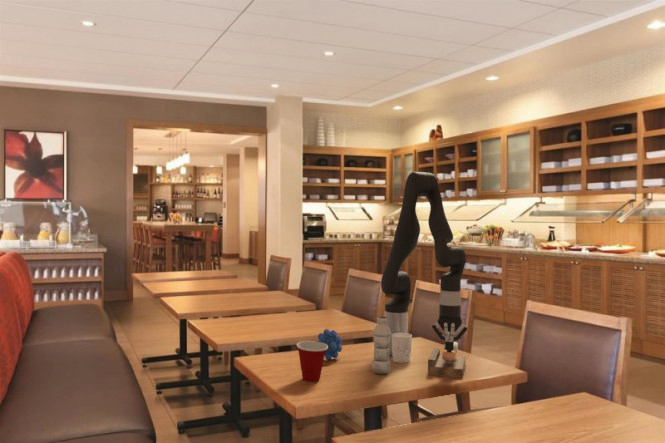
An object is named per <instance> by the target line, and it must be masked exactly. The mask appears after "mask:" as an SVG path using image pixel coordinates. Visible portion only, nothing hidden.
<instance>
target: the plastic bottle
mask: <svg viewBox="0 0 665 443" xmlns="http://www.w3.org/2000/svg"><path fill="white" fill-rule="evenodd" d="M376 323H377V324H376V325H375V327H374V329H373V330H372V335H373V347H374V350H373V359H372V364H371V366H372V371H373V372H374V373H375V374H377V375H378V374H379V375H384V374H385V375H386V374H389V372H390V371H391V359H390V355H389V342H390V335H391V331H390V329H389V327H388V325H387V317H385V315H384V316H380V315H379V316H377V317H376Z"/></svg>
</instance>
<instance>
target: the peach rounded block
mask: <svg viewBox="0 0 665 443" xmlns="http://www.w3.org/2000/svg"><path fill="white" fill-rule="evenodd" d="M441 355H442V359H444V360H446V364H447V365H451V364H452V360H455V359H456V356H457V353H456V352H455V351H452V352H447V350H444V349H443V350H442V353H441Z"/></svg>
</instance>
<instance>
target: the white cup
mask: <svg viewBox="0 0 665 443" xmlns="http://www.w3.org/2000/svg"><path fill="white" fill-rule="evenodd" d="M412 339H413V335H412V333H408V332H407V333H393V334H392V353H393V356H392V361H393V362H395V363H400V364H401V363H402V364H403V363H410V362H411V354H412V342H413V340H412Z"/></svg>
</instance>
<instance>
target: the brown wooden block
mask: <svg viewBox="0 0 665 443" xmlns="http://www.w3.org/2000/svg"><path fill="white" fill-rule="evenodd" d="M440 352H441V348H440V347H439V348H438V347H433V348H432V350H431V352H430V354H429V356H428V359H427V375H429V376H438V377H439V376H441V377H451V378H458V379H459V378H461V379H462V378H463V377H464V373H465V368H466V356H461V355H460V356H459V355H456V359H455V360H452V364H451V365H447V364H446V360H444V359H442V354H441V353H440Z"/></svg>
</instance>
